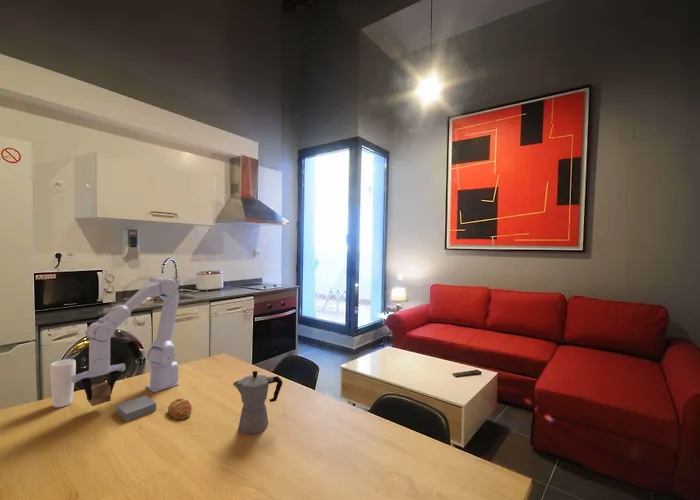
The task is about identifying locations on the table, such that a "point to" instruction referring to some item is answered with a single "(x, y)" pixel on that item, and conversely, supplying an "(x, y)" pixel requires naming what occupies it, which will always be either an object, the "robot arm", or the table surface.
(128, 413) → the block
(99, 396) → the walnut cube
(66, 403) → the drinking glass
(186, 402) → the pastry
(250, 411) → the coffeepot
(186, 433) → the table surface
